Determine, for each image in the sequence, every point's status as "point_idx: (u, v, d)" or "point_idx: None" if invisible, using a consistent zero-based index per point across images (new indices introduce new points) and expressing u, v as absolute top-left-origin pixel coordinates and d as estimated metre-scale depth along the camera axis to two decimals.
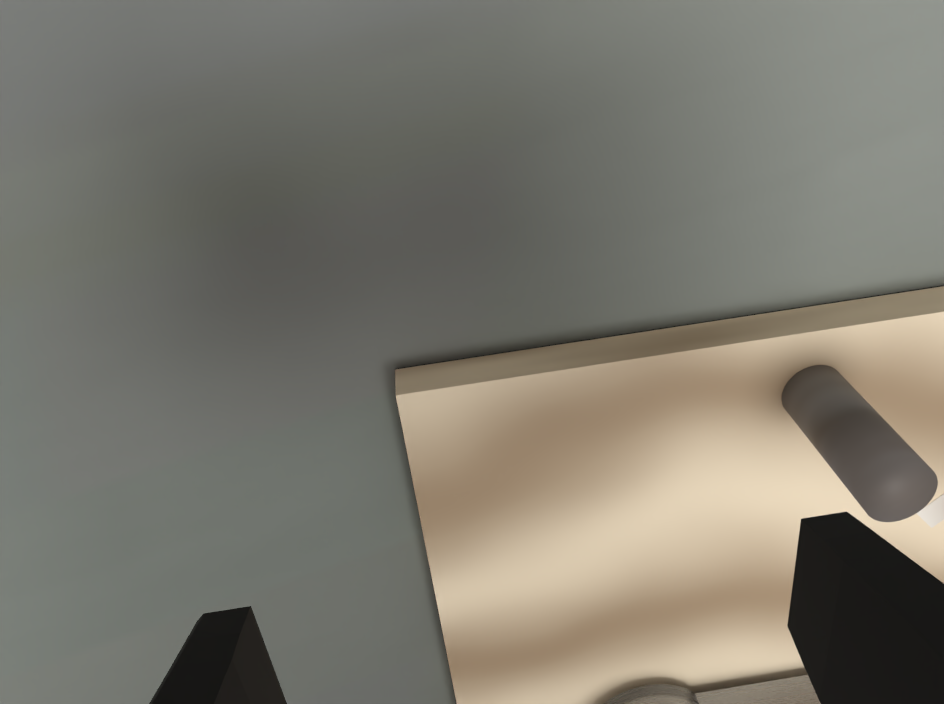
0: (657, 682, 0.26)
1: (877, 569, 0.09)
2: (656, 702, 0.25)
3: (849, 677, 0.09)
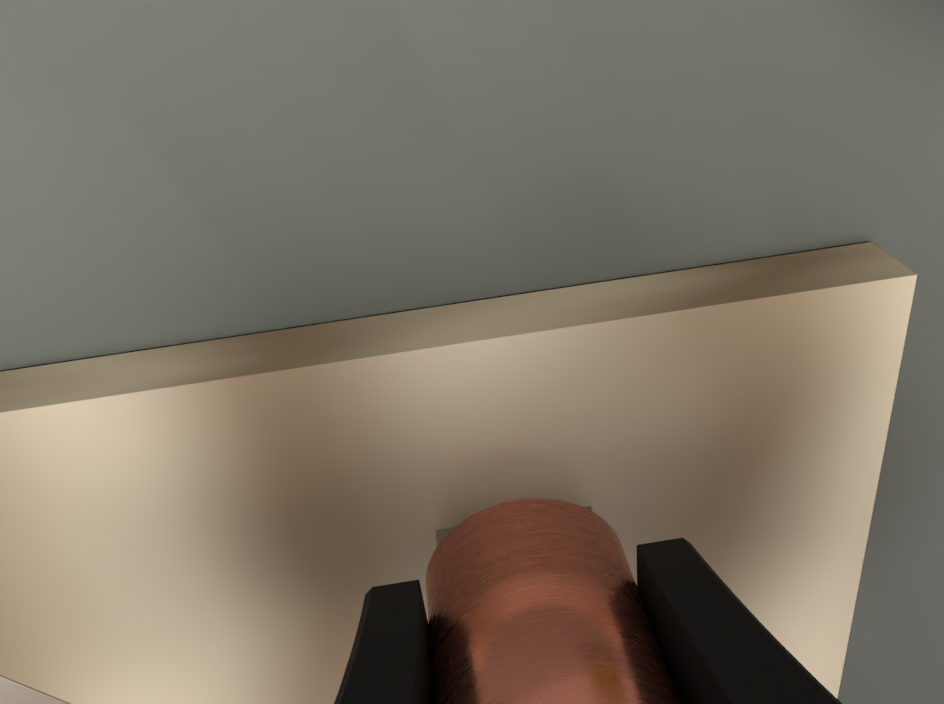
0: None
1: (690, 599, 0.09)
2: None
3: None
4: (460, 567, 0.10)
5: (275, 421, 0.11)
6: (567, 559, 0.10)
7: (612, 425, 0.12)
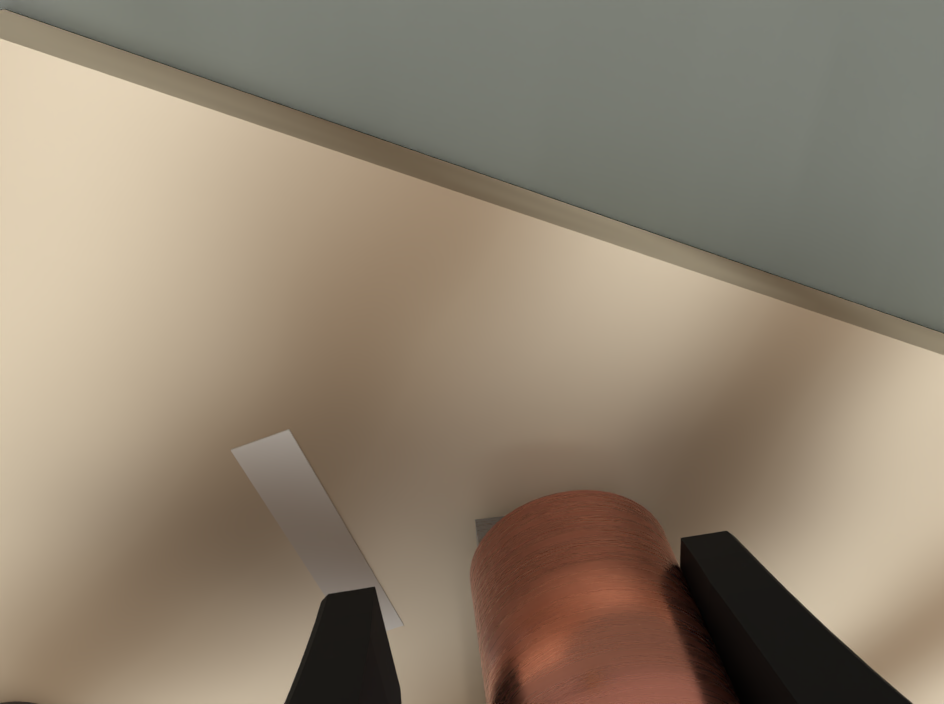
0: None
1: (740, 591, 0.09)
2: None
3: None
4: (515, 556, 0.10)
5: (778, 357, 0.11)
6: (625, 551, 0.09)
7: None
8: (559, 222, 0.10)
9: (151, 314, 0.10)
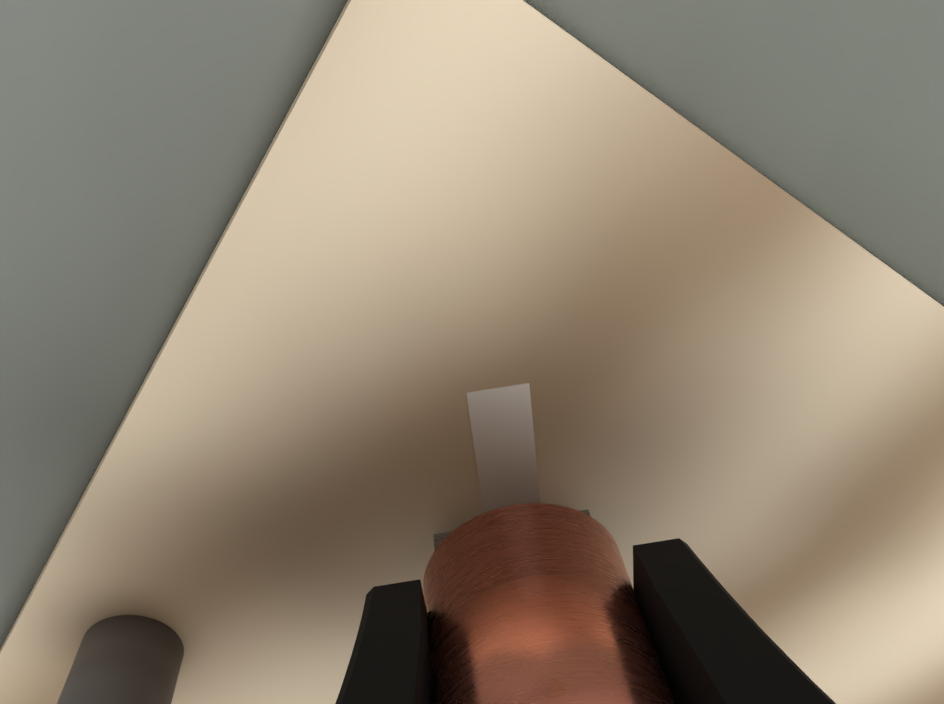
0: None
1: (686, 600, 0.09)
2: None
3: None
4: (457, 572, 0.10)
5: None
6: (563, 564, 0.10)
7: None
8: (844, 234, 0.11)
9: (452, 241, 0.10)
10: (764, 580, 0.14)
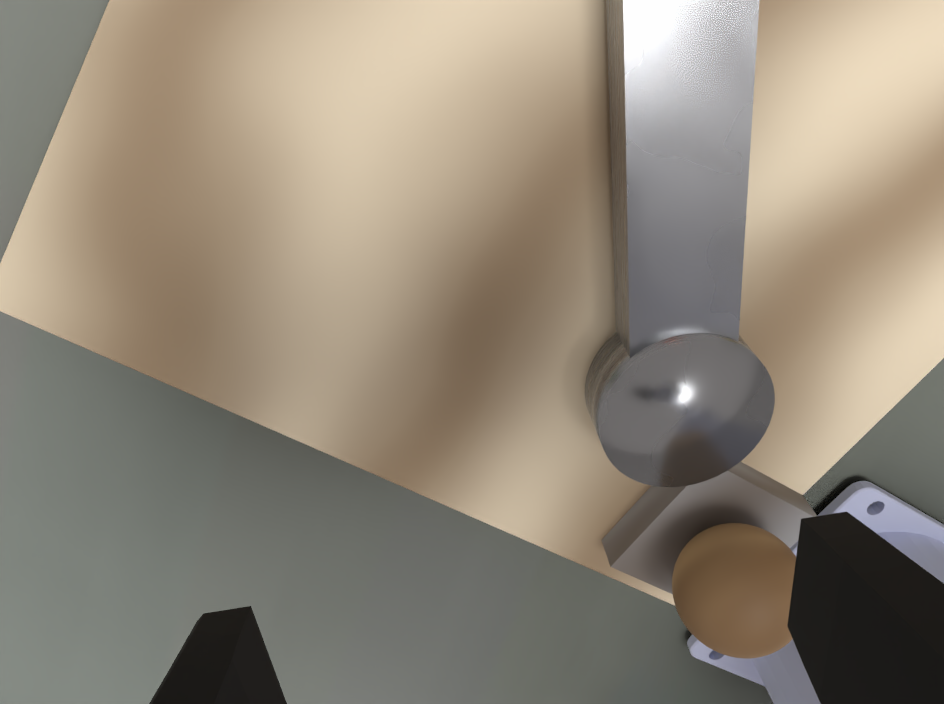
0: None
1: (877, 569, 0.09)
2: (590, 404, 0.18)
3: (850, 677, 0.09)
4: None
5: None
6: None
7: None
8: None
9: None
10: None
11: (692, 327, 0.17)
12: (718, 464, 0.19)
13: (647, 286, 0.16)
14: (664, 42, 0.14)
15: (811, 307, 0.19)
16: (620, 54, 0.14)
